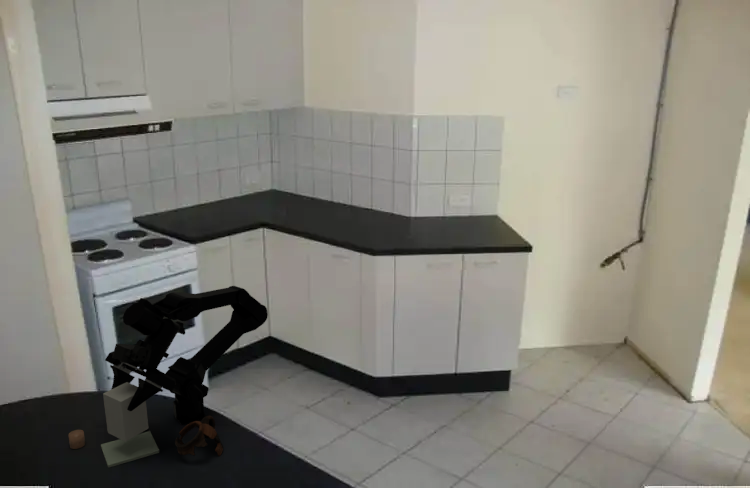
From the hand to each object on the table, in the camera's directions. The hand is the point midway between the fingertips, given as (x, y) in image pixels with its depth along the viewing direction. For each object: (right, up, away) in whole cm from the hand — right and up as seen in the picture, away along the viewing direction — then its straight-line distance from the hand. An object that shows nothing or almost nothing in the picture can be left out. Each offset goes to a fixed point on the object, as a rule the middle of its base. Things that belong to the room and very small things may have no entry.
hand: (119, 405), depth 141 cm
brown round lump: (-12, -11, +6) cm, 17 cm away
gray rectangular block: (+1, -6, +3) cm, 7 cm away
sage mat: (+1, -11, +5) cm, 12 cm away
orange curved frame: (+17, -12, +5) cm, 21 cm away
